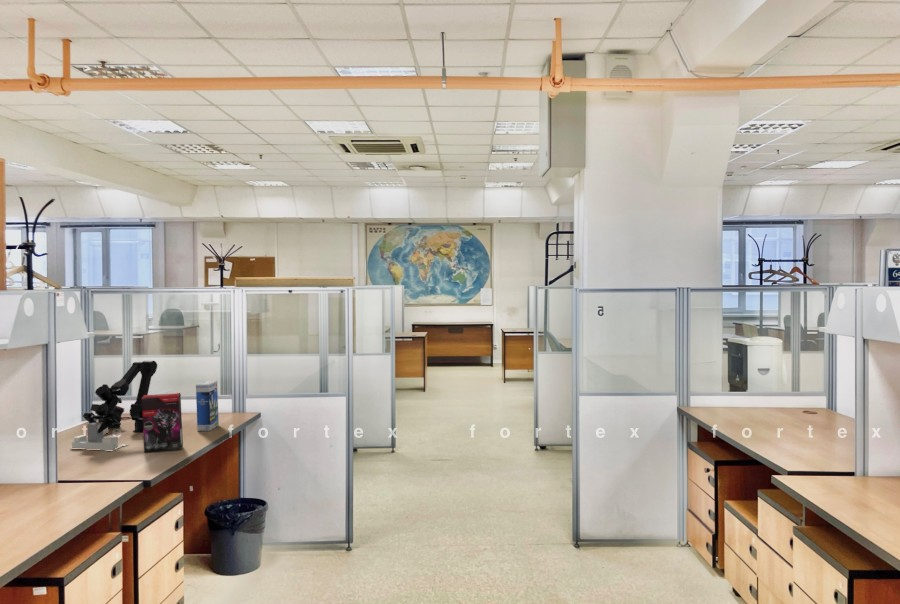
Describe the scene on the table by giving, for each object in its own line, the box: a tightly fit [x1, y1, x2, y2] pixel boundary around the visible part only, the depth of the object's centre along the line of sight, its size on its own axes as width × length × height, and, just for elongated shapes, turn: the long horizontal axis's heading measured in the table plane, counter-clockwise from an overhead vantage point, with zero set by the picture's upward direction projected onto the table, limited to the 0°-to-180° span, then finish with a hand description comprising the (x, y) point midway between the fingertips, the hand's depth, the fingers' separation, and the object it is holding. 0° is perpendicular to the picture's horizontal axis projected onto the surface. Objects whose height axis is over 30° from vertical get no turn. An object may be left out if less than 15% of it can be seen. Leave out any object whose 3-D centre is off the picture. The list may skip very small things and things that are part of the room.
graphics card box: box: [142, 392, 184, 453], centre depth 301 cm, size 17×7×27 cm, turn 105°
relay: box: [103, 428, 109, 436], centre depth 334 cm, size 6×4×4 cm
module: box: [86, 421, 105, 443], centre depth 308 cm, size 4×6×11 cm
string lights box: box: [195, 380, 220, 432], centre depth 344 cm, size 13×8×26 cm, turn 0°
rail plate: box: [71, 434, 129, 451], centre depth 308 cm, size 12×24×5 cm, turn 77°
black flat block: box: [97, 405, 125, 429], centre depth 347 cm, size 4×13×15 cm, turn 108°
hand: (93, 432), depth 307 cm, fingers closed on module, 5 cm apart
